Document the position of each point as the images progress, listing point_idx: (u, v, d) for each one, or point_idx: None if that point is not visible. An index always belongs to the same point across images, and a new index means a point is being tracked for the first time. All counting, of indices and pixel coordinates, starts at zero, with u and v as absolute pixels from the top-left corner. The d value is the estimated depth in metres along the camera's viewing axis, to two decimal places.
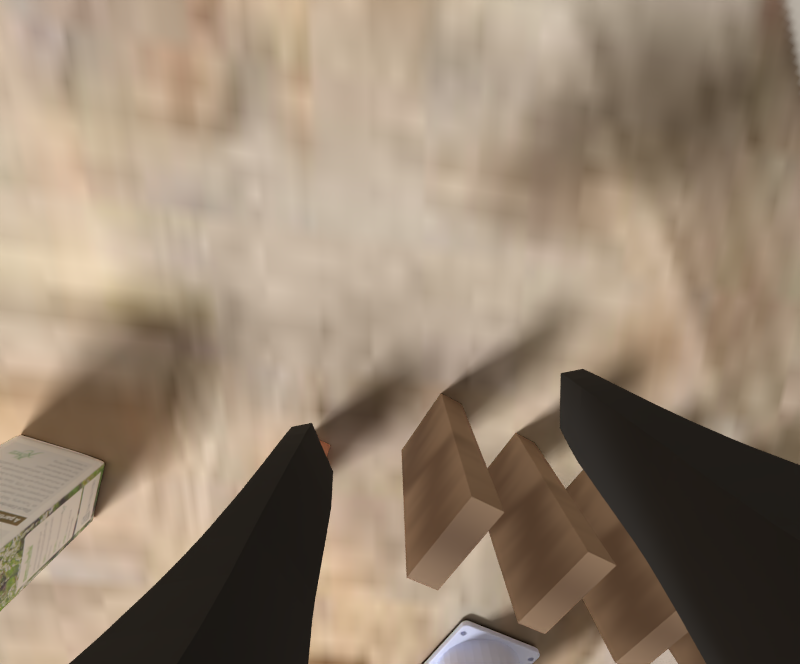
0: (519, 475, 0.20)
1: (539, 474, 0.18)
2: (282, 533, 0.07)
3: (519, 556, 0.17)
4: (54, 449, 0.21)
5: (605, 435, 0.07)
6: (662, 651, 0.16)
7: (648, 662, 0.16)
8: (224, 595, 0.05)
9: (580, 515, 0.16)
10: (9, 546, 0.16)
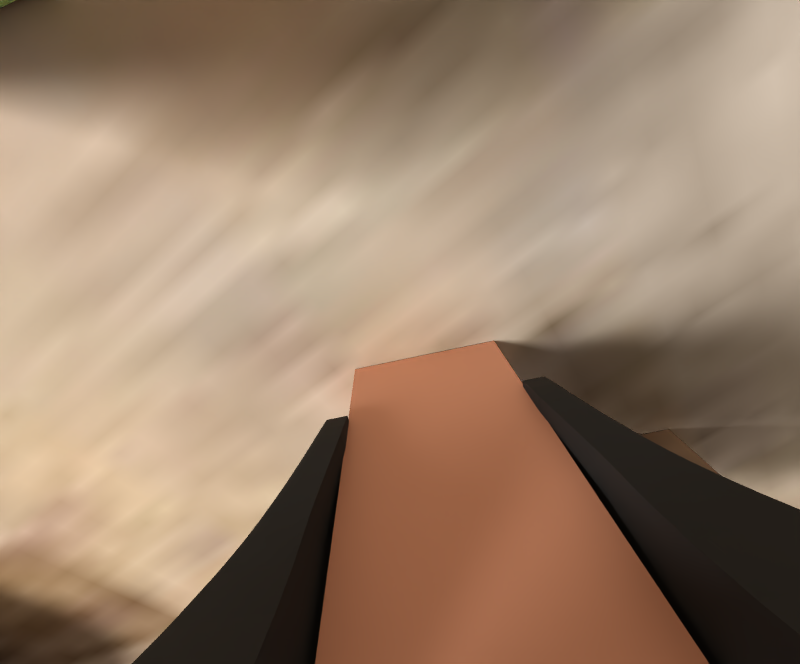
0: None
1: None
2: (331, 524, 0.07)
3: None
4: None
5: None
6: None
7: None
8: (291, 584, 0.05)
9: None
10: None
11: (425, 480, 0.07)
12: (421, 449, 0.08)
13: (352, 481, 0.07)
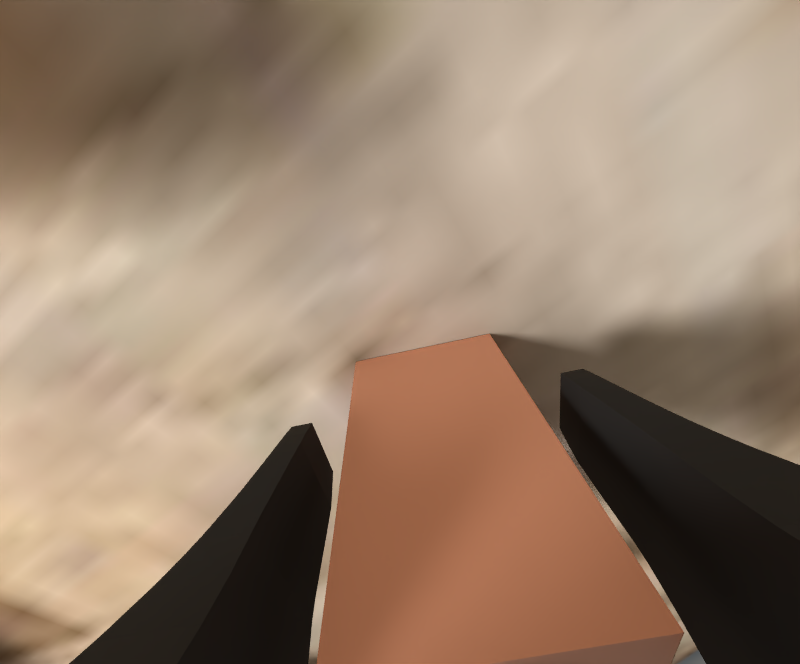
0: None
1: None
2: (282, 533, 0.07)
3: None
4: None
5: (605, 435, 0.07)
6: None
7: None
8: (224, 595, 0.05)
9: None
10: None
11: (422, 463, 0.07)
12: (419, 436, 0.08)
13: (354, 465, 0.08)
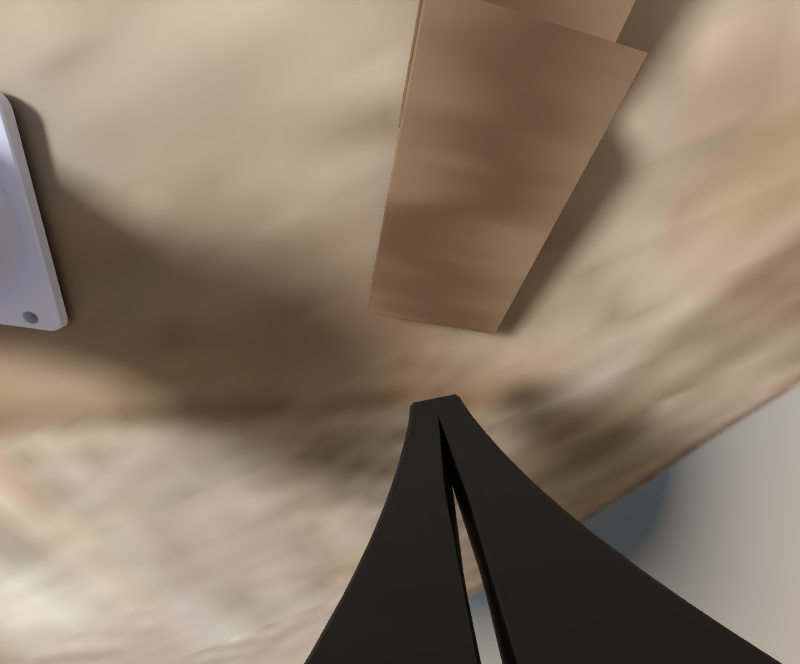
0: None
1: None
2: (448, 502, 0.07)
3: None
4: None
5: (452, 464, 0.07)
6: None
7: None
8: (456, 555, 0.05)
9: None
10: None
11: None
12: None
13: None
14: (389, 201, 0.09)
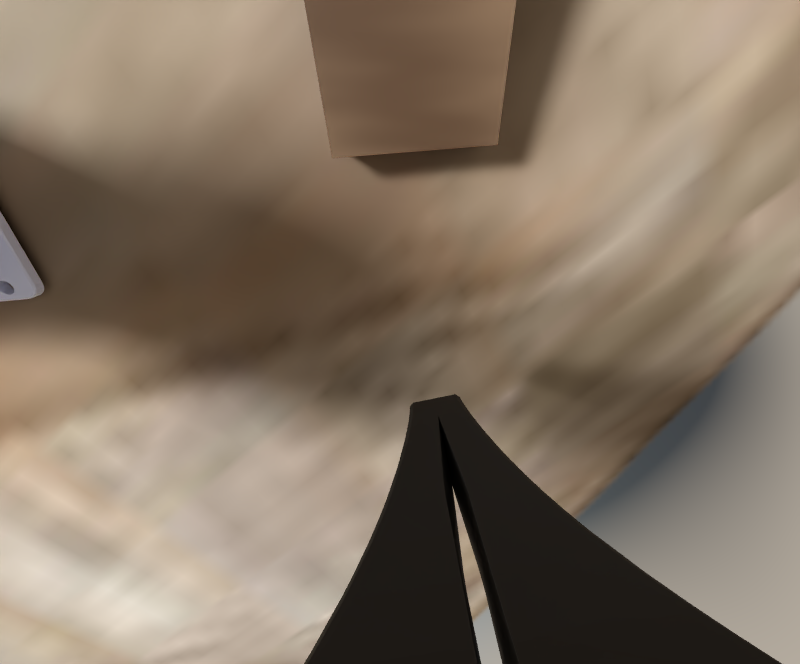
0: None
1: None
2: (448, 502, 0.07)
3: None
4: None
5: (452, 464, 0.07)
6: None
7: None
8: (456, 555, 0.05)
9: None
10: None
11: None
12: None
13: None
14: None
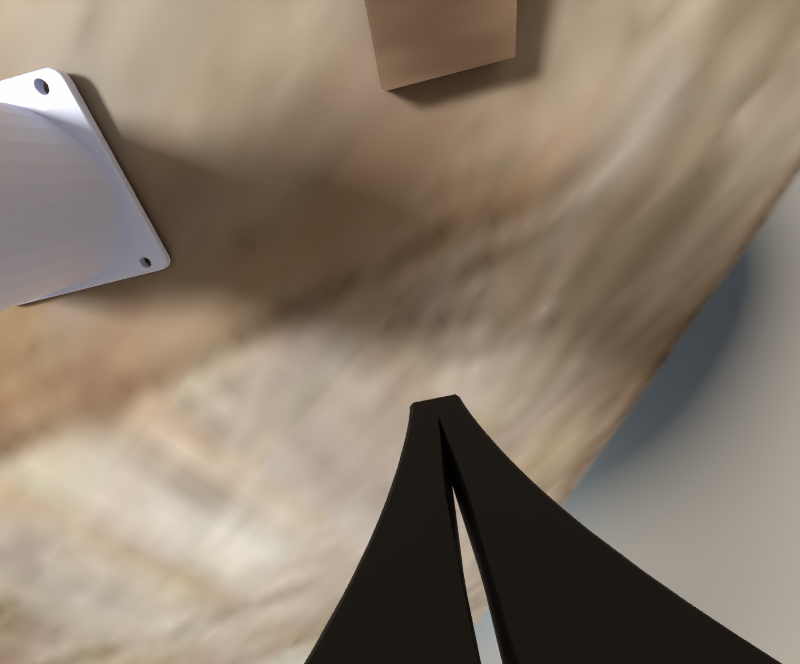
0: None
1: None
2: (449, 502, 0.07)
3: None
4: None
5: (452, 464, 0.07)
6: None
7: None
8: (457, 555, 0.05)
9: None
10: None
11: None
12: None
13: None
14: None
